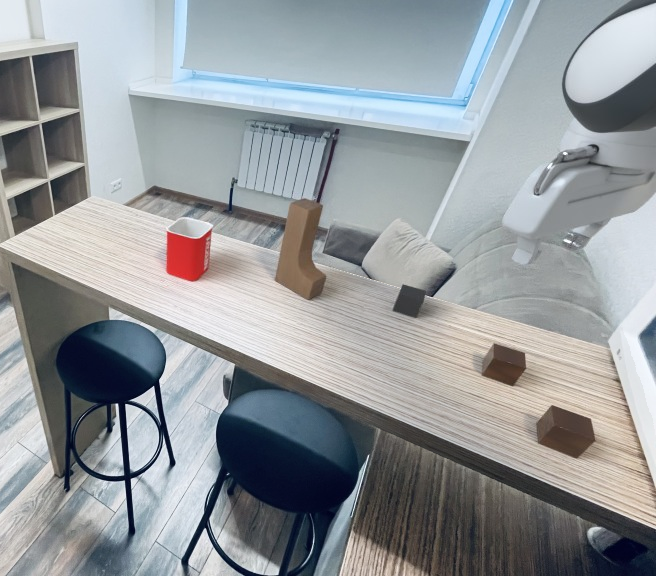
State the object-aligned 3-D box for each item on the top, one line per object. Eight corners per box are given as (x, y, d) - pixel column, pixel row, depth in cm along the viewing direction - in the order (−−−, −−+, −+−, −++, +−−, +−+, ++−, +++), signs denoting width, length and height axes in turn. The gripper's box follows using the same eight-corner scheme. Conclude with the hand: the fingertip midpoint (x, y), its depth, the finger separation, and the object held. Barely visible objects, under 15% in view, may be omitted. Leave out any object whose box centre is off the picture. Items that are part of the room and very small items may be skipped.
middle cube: (512, 370, 66) (525, 352, 63) (512, 386, 63) (526, 368, 61) (482, 360, 68) (493, 342, 65) (481, 375, 65) (493, 357, 63)
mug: (195, 283, 87) (198, 240, 81) (162, 272, 91) (162, 230, 85) (219, 259, 96) (223, 217, 89) (188, 250, 99) (190, 209, 93)
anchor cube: (418, 307, 80) (426, 290, 77) (415, 318, 77) (423, 301, 75) (395, 300, 81) (402, 284, 79) (392, 310, 79) (399, 294, 77)
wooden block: (322, 293, 84) (345, 212, 73) (308, 301, 82) (330, 219, 71) (287, 274, 90) (304, 197, 80) (273, 280, 88) (289, 202, 78)
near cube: (573, 436, 56) (591, 418, 53) (577, 458, 53) (596, 440, 51) (535, 422, 58) (551, 404, 55) (537, 443, 55) (554, 425, 53)
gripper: (594, 162, 37) (517, 285, 45) (715, 137, 43) (628, 250, 51) (521, 144, 42) (463, 258, 50) (638, 123, 48) (569, 229, 56)
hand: (547, 254), depth 51 cm, fingers open, 8 cm apart
